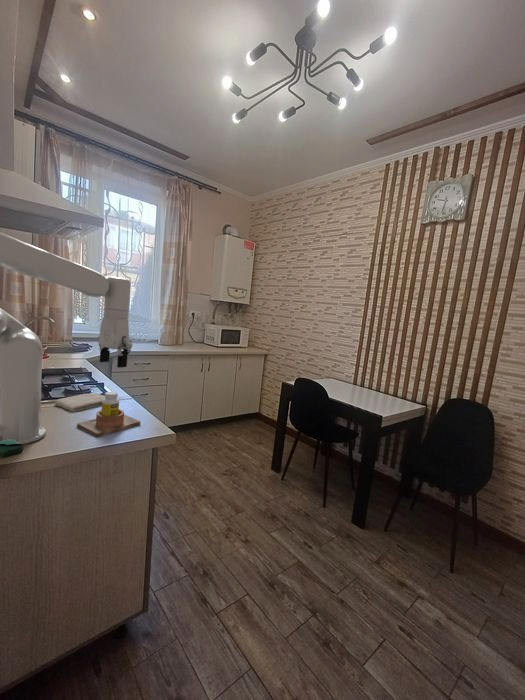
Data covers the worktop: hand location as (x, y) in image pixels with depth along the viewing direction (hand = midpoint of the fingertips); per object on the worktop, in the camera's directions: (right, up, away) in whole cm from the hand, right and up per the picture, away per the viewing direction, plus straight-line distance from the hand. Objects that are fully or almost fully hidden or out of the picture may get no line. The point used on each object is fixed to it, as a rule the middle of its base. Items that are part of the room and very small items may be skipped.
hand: (113, 364), depth 105 cm
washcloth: (-22, -18, +21) cm, 35 cm away
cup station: (-2, -22, +3) cm, 22 cm away
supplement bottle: (-2, -20, +2) cm, 20 cm away
